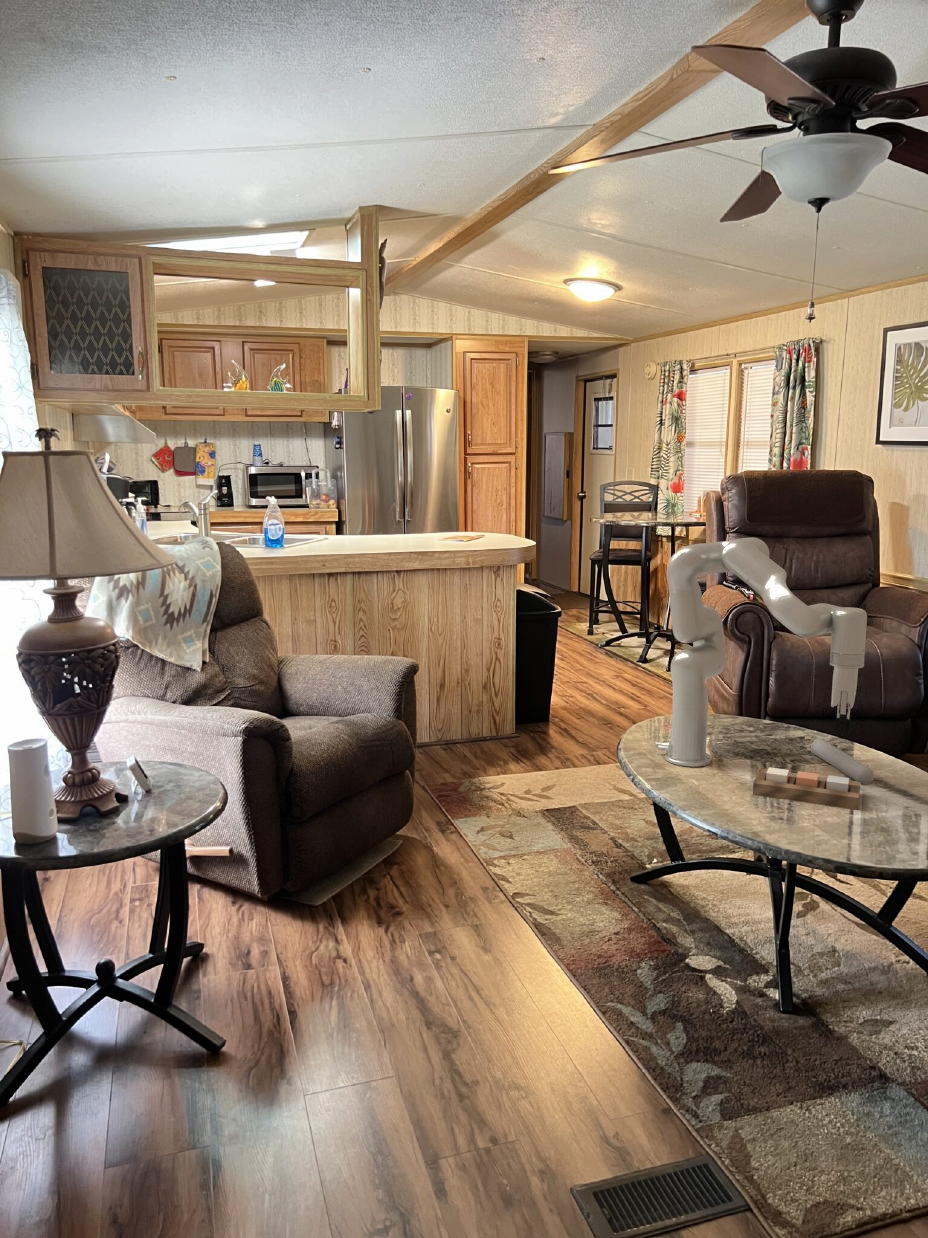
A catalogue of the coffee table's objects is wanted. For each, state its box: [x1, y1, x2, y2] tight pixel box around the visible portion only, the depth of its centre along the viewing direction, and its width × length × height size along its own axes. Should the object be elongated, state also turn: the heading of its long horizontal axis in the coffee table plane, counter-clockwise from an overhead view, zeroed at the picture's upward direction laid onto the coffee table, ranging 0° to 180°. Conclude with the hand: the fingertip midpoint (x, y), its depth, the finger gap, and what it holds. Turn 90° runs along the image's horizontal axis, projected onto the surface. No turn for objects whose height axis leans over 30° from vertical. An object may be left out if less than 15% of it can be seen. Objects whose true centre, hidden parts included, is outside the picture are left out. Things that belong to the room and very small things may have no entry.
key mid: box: [796, 770, 820, 788], centre depth 221 cm, size 5×5×3 cm
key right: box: [826, 774, 850, 792], centre depth 218 cm, size 5×5×3 cm
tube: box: [810, 738, 875, 785], centre depth 239 cm, size 5×5×25 cm
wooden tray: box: [752, 768, 861, 811], centre depth 221 cm, size 24×12×3 cm, turn 65°
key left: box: [766, 766, 790, 784], centre depth 224 cm, size 5×5×3 cm
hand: (842, 733), depth 216 cm, fingers closed
